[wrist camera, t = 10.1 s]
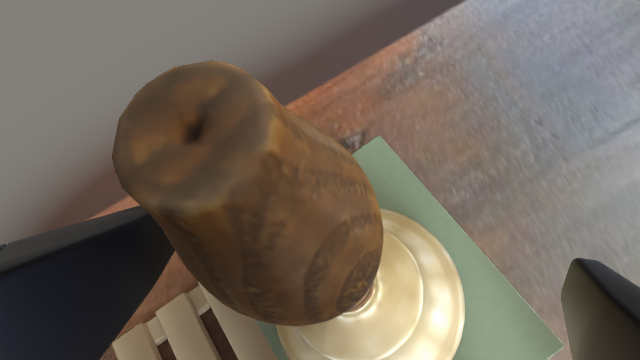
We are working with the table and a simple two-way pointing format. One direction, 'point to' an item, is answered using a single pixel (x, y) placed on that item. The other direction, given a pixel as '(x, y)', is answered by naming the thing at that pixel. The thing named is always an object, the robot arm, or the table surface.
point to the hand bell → (284, 221)
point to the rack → (392, 194)
